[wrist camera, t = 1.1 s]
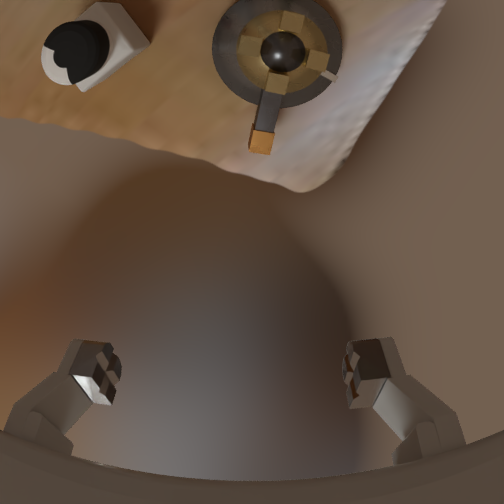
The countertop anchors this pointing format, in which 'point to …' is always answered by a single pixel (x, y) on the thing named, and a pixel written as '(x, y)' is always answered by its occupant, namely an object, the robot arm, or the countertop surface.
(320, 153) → the countertop surface
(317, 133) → the countertop surface
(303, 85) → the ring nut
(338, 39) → the plate
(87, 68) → the medicine bottle
